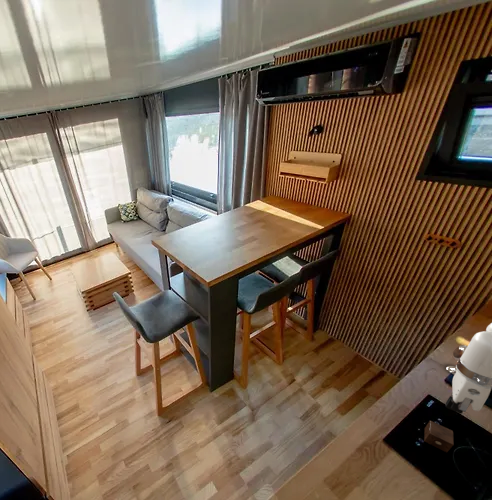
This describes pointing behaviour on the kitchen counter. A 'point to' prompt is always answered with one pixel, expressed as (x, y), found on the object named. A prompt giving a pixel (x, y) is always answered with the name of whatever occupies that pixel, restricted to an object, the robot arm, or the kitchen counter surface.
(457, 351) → the wineglass
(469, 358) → the robot arm
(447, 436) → the die
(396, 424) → the kitchen counter surface
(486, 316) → the kitchen counter surface
